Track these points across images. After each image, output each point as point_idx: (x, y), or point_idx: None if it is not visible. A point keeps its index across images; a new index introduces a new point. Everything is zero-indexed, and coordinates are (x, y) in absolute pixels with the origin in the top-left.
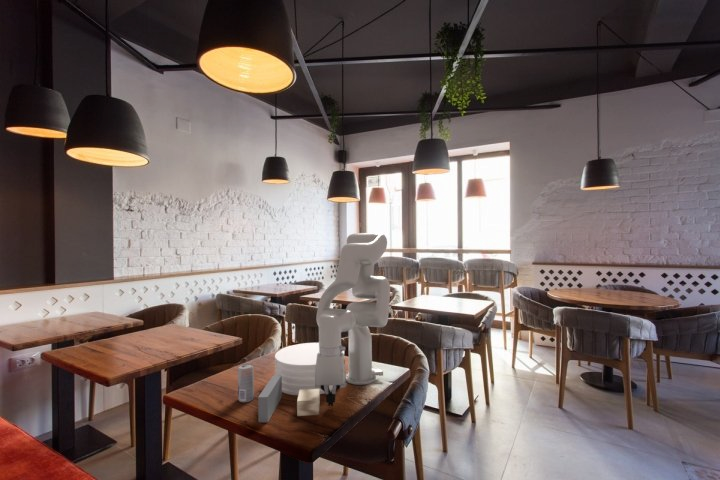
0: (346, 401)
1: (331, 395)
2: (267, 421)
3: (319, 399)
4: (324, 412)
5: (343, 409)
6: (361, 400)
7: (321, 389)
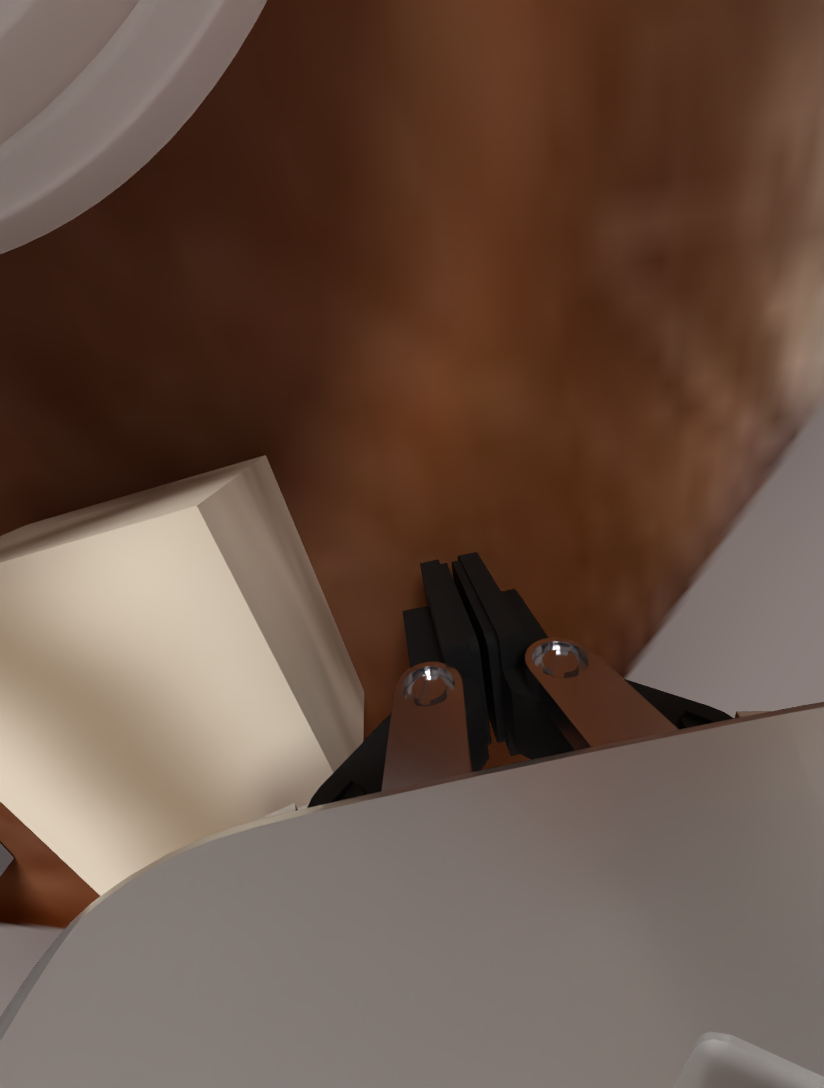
0: (595, 379)
1: (513, 743)
2: (4, 864)
3: (280, 544)
4: (403, 650)
5: (573, 567)
6: (783, 316)
7: (99, 54)
